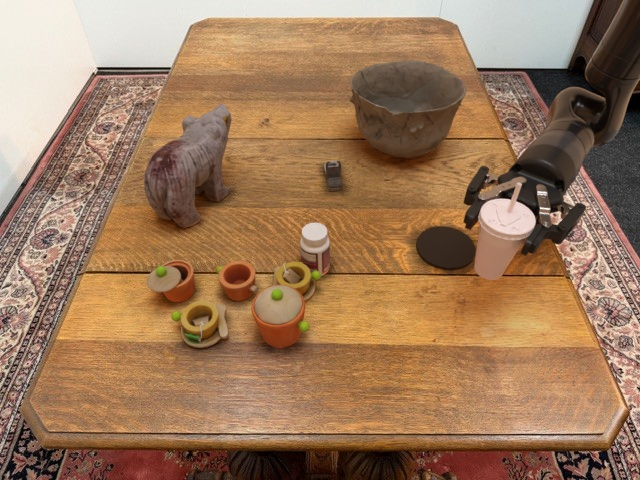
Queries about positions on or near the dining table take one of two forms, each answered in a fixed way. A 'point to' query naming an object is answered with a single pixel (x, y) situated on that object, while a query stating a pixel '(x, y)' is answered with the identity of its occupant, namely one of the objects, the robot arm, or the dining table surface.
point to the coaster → (445, 248)
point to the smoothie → (501, 234)
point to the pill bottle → (315, 248)
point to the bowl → (406, 105)
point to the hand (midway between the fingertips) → (496, 236)
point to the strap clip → (333, 175)
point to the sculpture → (189, 167)
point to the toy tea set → (239, 284)
